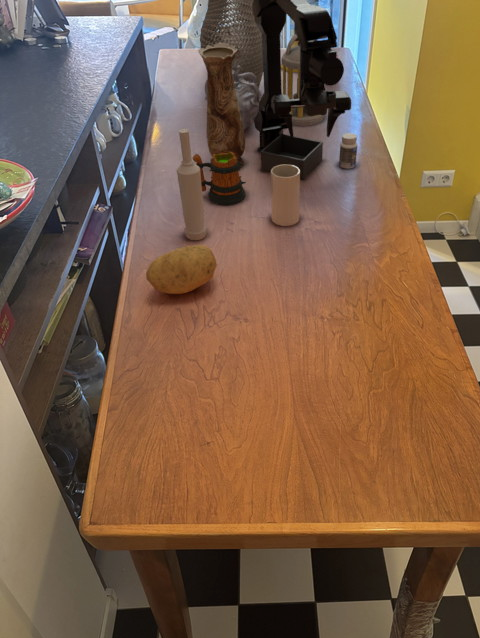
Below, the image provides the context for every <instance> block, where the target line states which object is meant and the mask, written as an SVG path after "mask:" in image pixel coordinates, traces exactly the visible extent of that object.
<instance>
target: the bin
mask: <svg viewBox="0 0 480 638" xmlns="http://www.w3.org/2000/svg"><path fill="white" fill-rule="evenodd" d="M323 151H324V141H319V140H316V139H315V140H314V139H310V138H305V137H300V136H296V135H295V136H294V135H293V140H291V137H290V134H285V133H283V134H281V135H279V136H278V137H277V138H276V139H275V140H273V141H272V142H271V143H270V144H269V145H268V146H266V147H265V148H264V149H263V150H262V151H261V152H259V153H260V171H261V172H265V173H270V174H271V169H272V168H273V167H275V166H277V165H283V164H287V165H294V166H296V167H298V168H299V169H300V181H301V180H302V181H305V179H306V178H307V177H308V176H309V175H310V174H311V173H312V172H313V171H314V170H315V169H316V168H317V167H318V166H319V165H320V164H321V163H322V162H323Z"/></svg>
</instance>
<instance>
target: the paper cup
mask: <svg viewBox="0 0 480 638" xmlns="http://www.w3.org/2000/svg"><path fill="white" fill-rule="evenodd" d="M300 190H301V179H300V169H299V168H298V167H296V166H294V165H287V164H283V165H277V166H275V167H273V168H272V169H271V173H270V199H271V200H270V211H271V212H270V213H271V217H270V218H271V221H272V223H274V224H275V225H277V226H281V227H291V226H294V225H296V224H297V223H298V222H299V221H300V200H301V199H300V197H301V196H300V193H301V191H300Z"/></svg>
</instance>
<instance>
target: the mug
mask: <svg viewBox="0 0 480 638" xmlns="http://www.w3.org/2000/svg"><path fill="white" fill-rule="evenodd" d="M191 158H192V160H193V161H194V163H195V164H196V165H197V166H199V167H200V173H201V185H202V193H203V192H206V190H207V186H209V187H210V188H209V191H208V200H209V201H210V202H212V203H213V204H216V205H219V206H233V205H236V204H239V203H241V202H242V201H244V200H245V198H246V191H245V189H244V187H243V185H244V184H247V181H242V176H241V175H240V168H241V167H243V166H244V165H245V164H242V163H239V162H238V160H239V159H236V156H235V154H234V153H233V152H230V151H229V152H228V153H220V154H213V156H211V159H210V162H203V159H202V157H201V155H200V154H199V153H195V154H194V155H193V156H192V157H191ZM242 165H243V166H242ZM240 166H241V167H240ZM239 167H240V168H239ZM204 168H210V170H209V172H211V176H210V179H211V180H210V181H207V180H206V179H205V175H204Z"/></svg>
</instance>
